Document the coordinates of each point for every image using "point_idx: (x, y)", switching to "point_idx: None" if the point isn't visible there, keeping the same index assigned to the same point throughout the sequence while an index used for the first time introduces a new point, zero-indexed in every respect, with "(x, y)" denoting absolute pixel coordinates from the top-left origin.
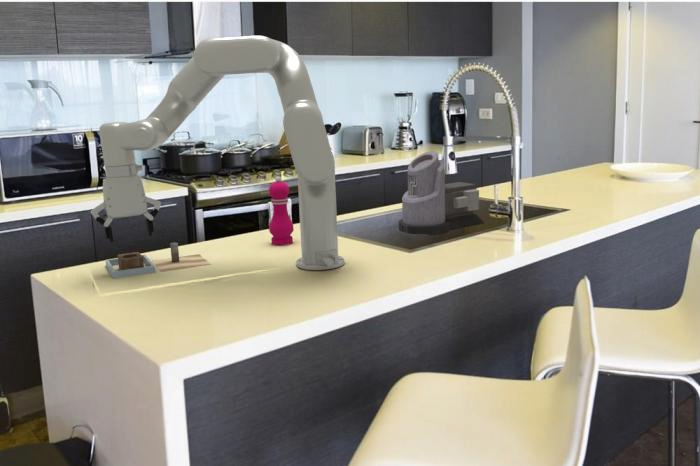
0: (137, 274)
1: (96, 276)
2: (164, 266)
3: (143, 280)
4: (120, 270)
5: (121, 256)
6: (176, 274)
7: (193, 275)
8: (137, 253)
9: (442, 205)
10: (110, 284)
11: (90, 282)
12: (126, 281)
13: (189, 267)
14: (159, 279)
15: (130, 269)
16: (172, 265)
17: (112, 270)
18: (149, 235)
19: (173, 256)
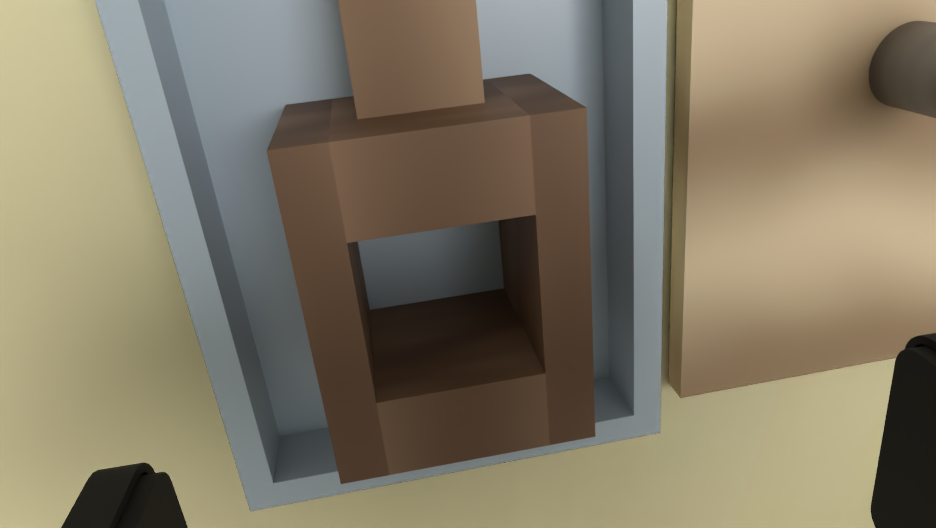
0: None
1: (36, 200)
2: (752, 228)
3: (510, 486)
4: (328, 476)
5: (336, 298)
6: (773, 410)
7: (865, 474)
8: (558, 211)
9: None
10: (242, 513)
11: (27, 403)
12: None
13: None
14: (627, 496)
15: (427, 471)
16: (825, 222)
17: (241, 451)
18: (879, 522)
19: (930, 116)
